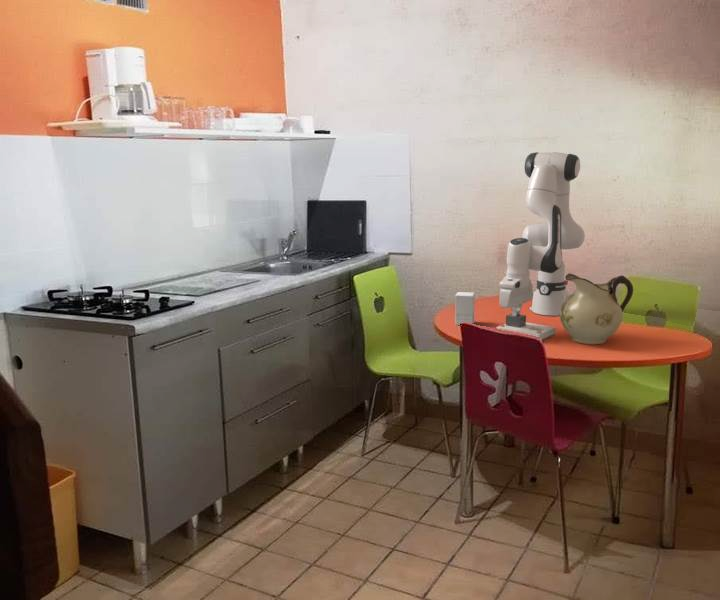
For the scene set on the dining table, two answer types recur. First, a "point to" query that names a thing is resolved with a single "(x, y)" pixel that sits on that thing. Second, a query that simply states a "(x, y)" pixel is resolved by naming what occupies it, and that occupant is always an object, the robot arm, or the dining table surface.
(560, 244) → the robot arm
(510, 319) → the plug
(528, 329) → the double socket
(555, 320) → the dining table surface
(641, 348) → the dining table surface
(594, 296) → the pitcher
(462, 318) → the supplement box
